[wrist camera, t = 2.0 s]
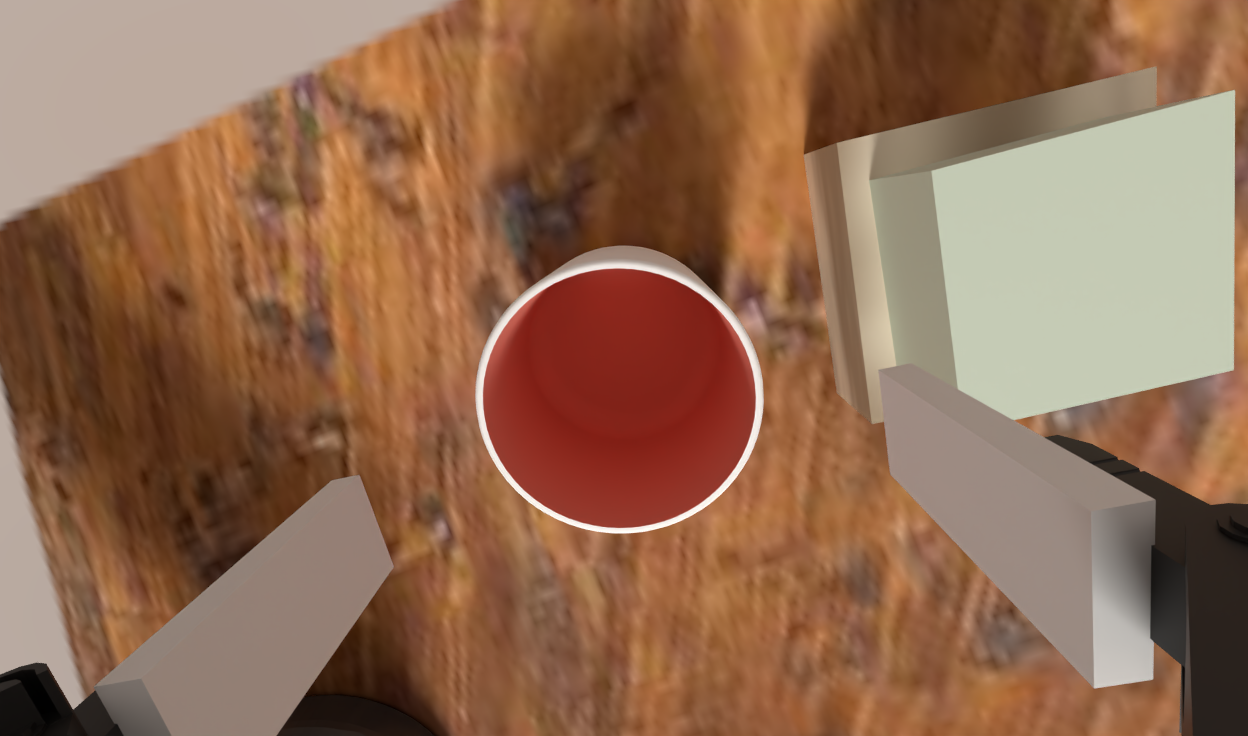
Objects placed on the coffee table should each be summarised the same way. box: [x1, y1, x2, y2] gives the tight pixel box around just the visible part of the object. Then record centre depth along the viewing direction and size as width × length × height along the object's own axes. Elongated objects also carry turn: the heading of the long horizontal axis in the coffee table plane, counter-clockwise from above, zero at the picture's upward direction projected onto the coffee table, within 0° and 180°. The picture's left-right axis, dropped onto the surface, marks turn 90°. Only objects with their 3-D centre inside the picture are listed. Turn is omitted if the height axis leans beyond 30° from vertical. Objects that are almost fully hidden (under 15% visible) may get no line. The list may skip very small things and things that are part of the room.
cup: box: [476, 246, 764, 533], centre depth 25 cm, size 10×10×10 cm
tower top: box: [869, 90, 1235, 420], centre depth 21 cm, size 9×9×5 cm
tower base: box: [804, 67, 1157, 424], centre depth 26 cm, size 12×12×5 cm
